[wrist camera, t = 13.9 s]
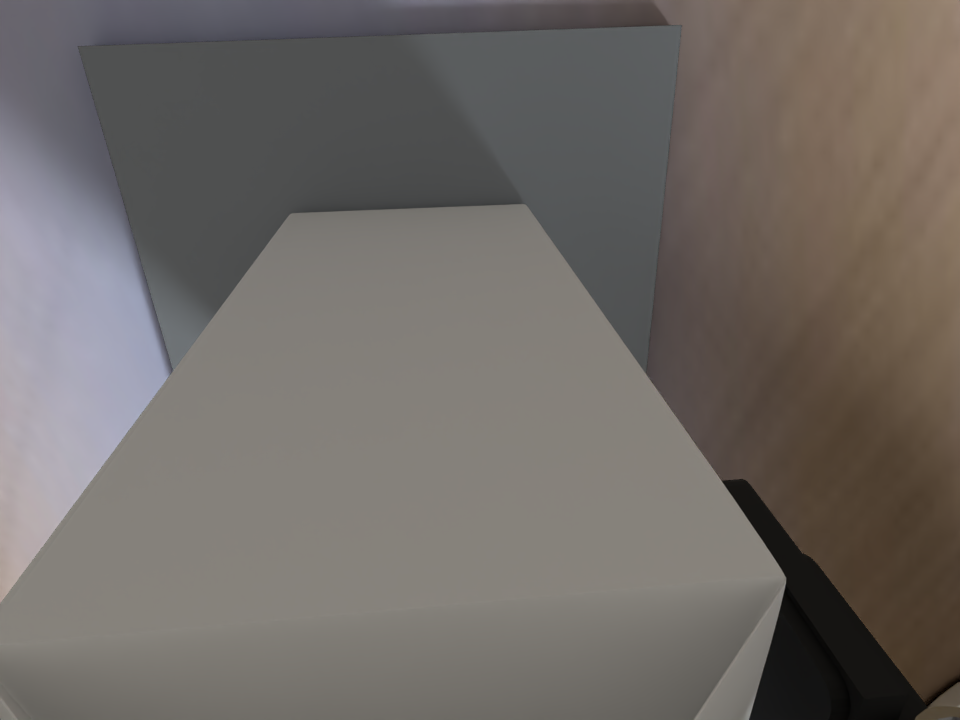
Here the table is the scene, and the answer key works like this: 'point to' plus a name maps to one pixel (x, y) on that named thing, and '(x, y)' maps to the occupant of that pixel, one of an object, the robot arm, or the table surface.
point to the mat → (390, 148)
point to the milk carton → (399, 508)
